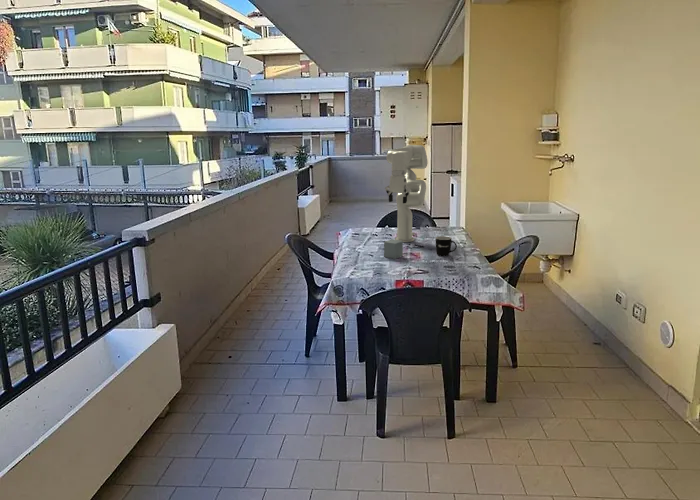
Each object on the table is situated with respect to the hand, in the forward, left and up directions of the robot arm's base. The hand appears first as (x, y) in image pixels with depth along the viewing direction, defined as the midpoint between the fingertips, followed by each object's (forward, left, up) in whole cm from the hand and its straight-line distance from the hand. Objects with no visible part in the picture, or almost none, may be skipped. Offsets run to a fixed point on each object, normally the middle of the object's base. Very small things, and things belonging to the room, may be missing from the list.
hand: (397, 202), depth 297 cm
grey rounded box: (+17, +8, -28) cm, 34 cm away
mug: (-3, +31, -28) cm, 42 cm away
